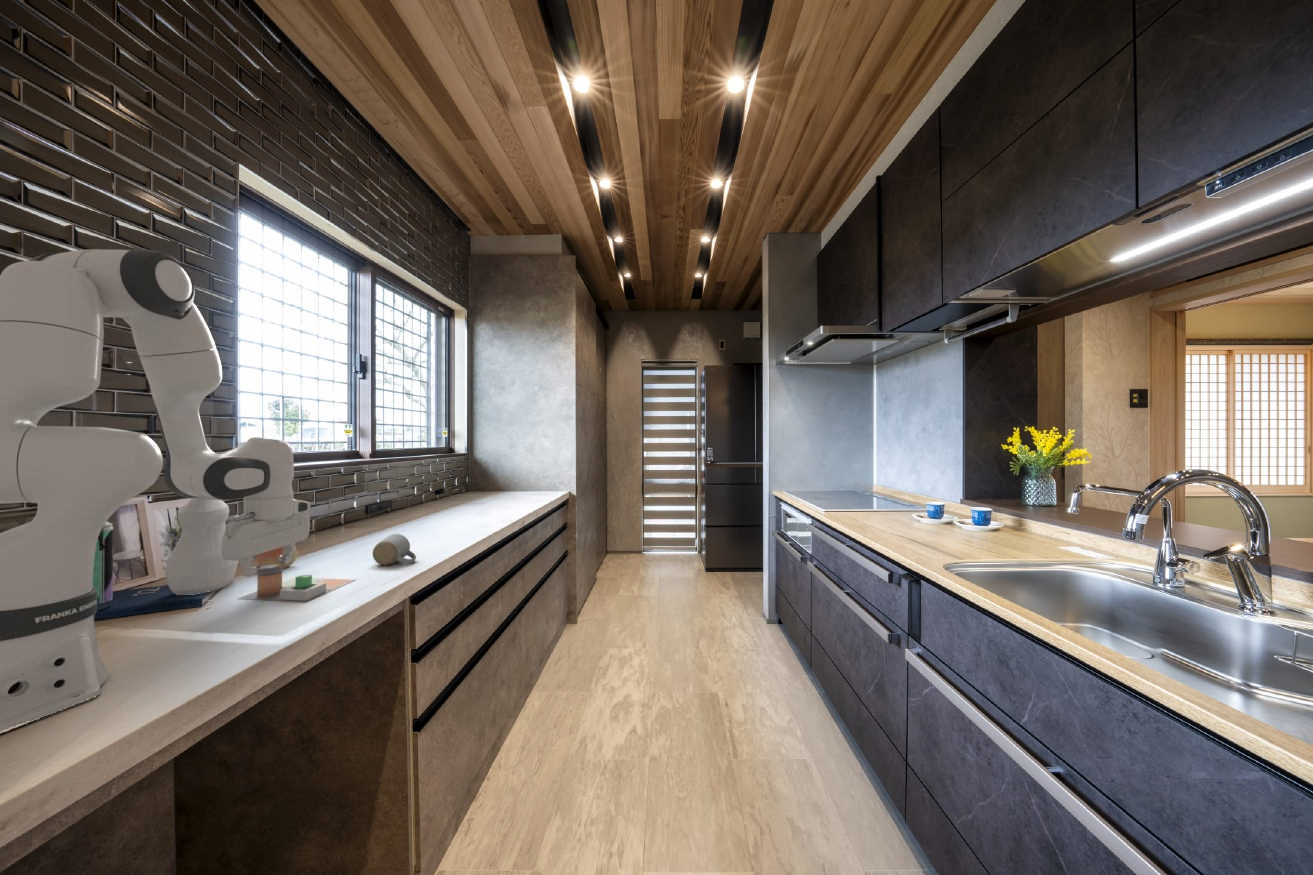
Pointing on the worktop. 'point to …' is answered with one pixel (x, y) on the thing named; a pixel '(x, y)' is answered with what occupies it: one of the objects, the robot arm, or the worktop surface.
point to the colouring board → (302, 590)
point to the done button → (303, 582)
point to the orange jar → (269, 580)
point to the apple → (274, 557)
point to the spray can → (104, 564)
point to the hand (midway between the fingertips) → (268, 569)
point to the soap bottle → (200, 549)
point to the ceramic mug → (393, 550)
